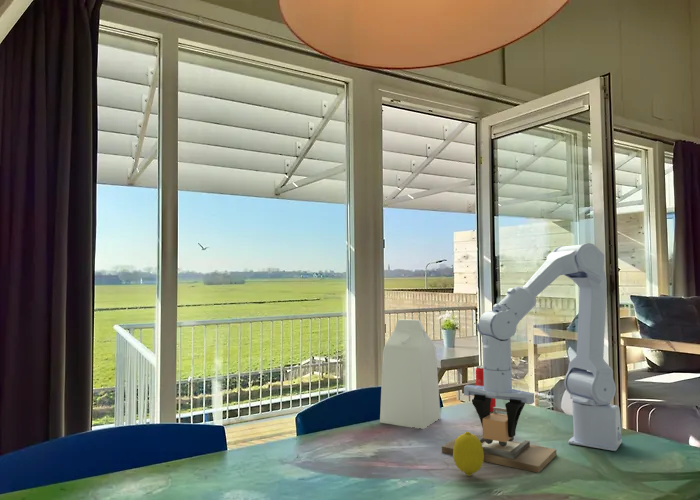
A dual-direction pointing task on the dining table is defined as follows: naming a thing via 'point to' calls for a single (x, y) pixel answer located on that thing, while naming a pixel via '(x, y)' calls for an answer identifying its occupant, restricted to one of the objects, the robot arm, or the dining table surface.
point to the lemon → (468, 453)
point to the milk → (409, 377)
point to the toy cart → (496, 427)
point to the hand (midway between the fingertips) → (498, 434)
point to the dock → (512, 454)
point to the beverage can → (481, 383)
